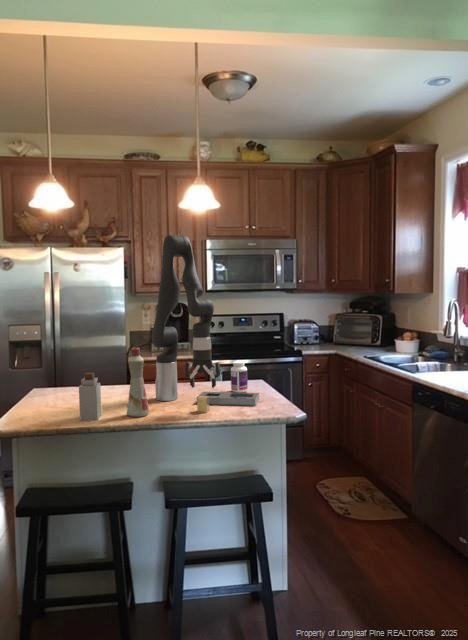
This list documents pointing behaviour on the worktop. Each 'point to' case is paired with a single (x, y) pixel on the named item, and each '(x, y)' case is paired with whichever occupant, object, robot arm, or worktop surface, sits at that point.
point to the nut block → (202, 404)
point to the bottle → (137, 386)
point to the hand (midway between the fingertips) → (203, 387)
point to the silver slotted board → (232, 398)
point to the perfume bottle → (89, 398)
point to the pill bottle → (239, 377)
